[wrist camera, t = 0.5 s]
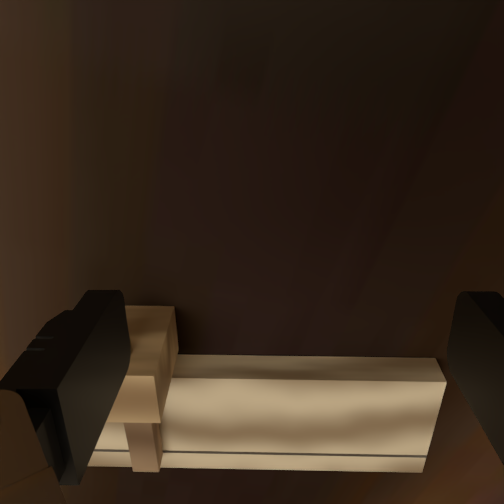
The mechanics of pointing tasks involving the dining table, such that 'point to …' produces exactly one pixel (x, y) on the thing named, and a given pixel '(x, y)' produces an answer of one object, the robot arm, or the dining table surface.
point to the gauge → (146, 382)
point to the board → (293, 414)
